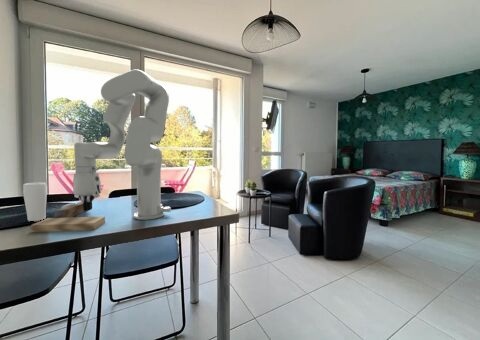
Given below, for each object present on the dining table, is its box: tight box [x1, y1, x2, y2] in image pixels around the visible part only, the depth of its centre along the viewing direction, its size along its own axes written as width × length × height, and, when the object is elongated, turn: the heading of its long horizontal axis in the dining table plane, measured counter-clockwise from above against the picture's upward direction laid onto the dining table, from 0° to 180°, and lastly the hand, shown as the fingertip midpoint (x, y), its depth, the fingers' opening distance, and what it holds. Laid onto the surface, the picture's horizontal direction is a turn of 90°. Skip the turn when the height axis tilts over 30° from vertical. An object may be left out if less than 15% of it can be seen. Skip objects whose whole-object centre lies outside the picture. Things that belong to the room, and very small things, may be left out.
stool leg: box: [53, 201, 86, 218], centre depth 91 cm, size 18×3×4 cm, turn 5°
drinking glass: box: [22, 181, 48, 222], centre depth 85 cm, size 7×7×15 cm
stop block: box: [61, 202, 76, 209], centre depth 95 cm, size 2×5×4 cm, turn 10°
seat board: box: [30, 216, 106, 233], centre depth 79 cm, size 20×9×2 cm, turn 100°
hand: (87, 209), depth 96 cm, fingers closed
